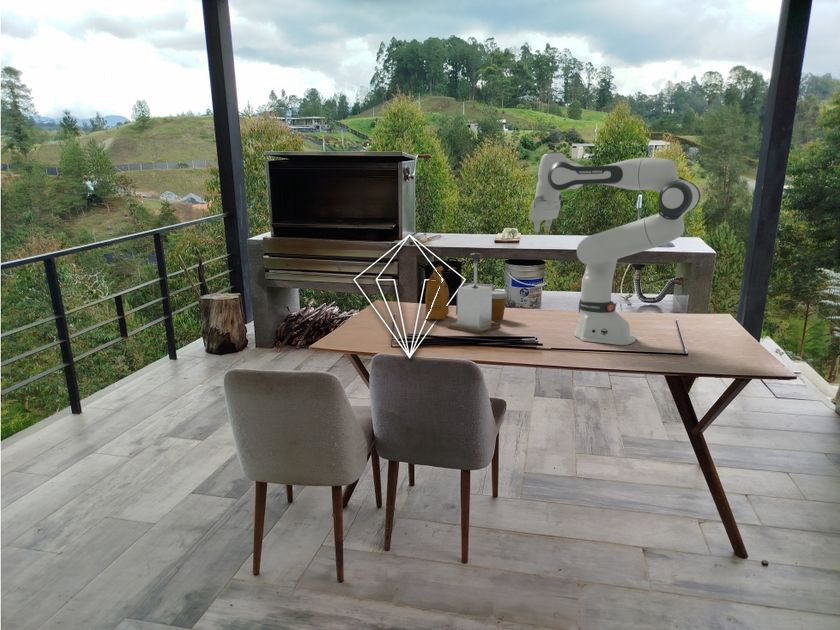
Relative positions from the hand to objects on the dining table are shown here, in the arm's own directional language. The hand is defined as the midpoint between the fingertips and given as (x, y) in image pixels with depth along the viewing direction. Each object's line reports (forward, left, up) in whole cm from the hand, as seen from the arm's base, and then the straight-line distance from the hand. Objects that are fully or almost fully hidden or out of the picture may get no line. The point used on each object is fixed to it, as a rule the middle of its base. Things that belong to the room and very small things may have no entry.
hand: (541, 231), depth 236 cm
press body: (+21, +15, -39) cm, 47 cm away
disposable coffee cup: (+21, -3, -39) cm, 44 cm away
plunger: (+21, +15, -27) cm, 37 cm away
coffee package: (+43, +9, -39) cm, 59 cm away
